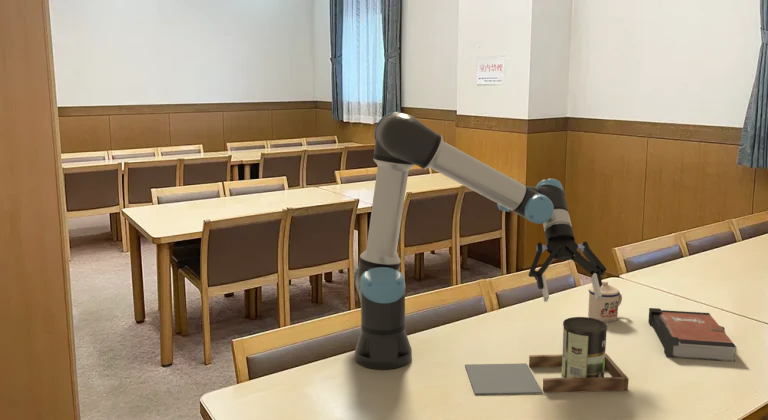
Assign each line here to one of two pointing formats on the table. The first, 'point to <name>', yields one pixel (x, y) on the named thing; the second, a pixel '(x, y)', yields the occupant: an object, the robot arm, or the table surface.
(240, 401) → the table surface
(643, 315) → the table surface
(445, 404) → the table surface
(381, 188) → the robot arm
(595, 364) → the coffee can
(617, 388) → the frame
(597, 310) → the teacup with lid
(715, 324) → the book
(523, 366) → the rubber mat
